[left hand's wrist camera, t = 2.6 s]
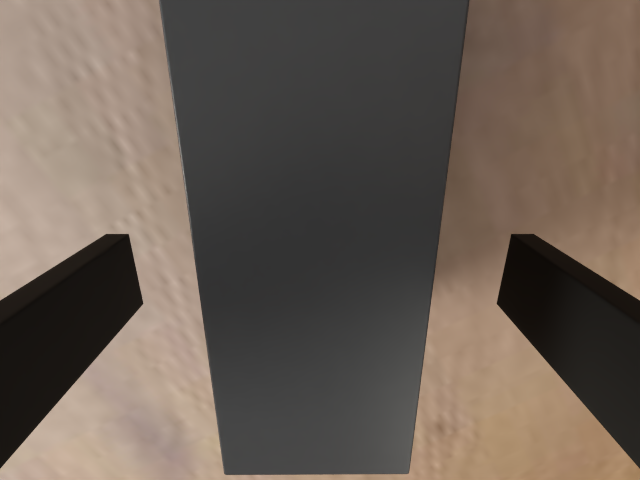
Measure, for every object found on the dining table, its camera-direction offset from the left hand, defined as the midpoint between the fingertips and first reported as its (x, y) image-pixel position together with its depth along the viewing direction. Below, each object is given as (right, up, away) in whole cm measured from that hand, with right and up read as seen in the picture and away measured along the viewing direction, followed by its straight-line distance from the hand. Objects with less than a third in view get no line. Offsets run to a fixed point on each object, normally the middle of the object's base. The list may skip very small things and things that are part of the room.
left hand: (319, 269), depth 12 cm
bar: (0, +10, 0) cm, 10 cm away
